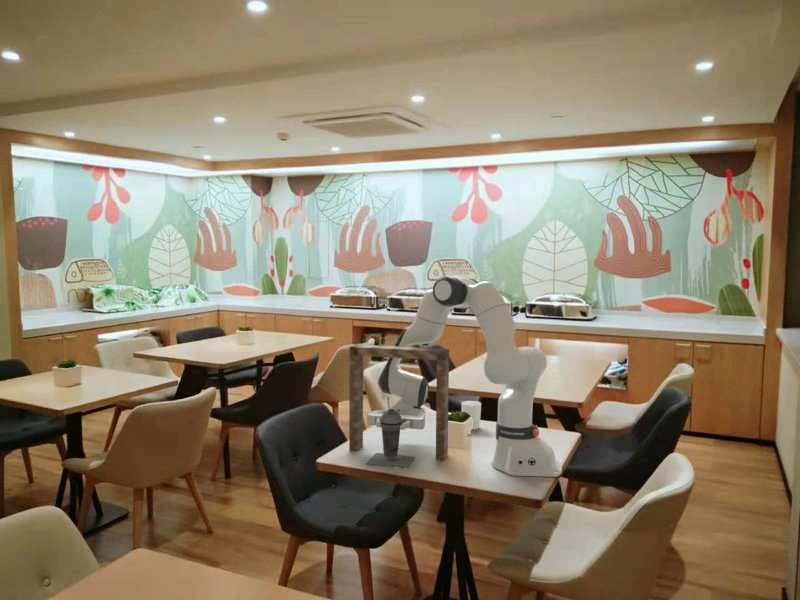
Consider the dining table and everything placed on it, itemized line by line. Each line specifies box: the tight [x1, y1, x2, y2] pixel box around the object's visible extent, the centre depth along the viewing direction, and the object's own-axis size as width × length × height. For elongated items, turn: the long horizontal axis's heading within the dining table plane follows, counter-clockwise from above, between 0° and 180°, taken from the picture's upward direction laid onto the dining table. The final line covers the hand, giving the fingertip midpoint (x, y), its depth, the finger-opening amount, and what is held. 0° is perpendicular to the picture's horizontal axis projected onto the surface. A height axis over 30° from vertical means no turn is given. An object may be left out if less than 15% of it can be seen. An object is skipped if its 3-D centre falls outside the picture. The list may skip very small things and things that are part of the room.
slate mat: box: [365, 452, 416, 469], centre depth 201 cm, size 14×11×1 cm
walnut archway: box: [348, 343, 450, 461], centre depth 208 cm, size 34×6×37 cm, turn 75°
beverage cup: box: [380, 396, 402, 458], centre depth 200 cm, size 7×7×20 cm
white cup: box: [461, 400, 482, 431], centre depth 240 cm, size 8×8×10 cm
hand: (390, 426), depth 199 cm, fingers closed on beverage cup, 7 cm apart
